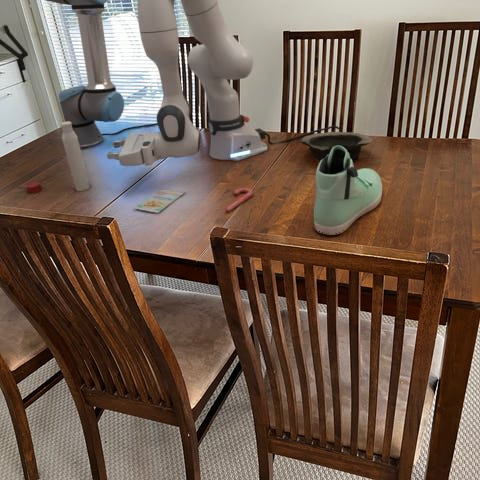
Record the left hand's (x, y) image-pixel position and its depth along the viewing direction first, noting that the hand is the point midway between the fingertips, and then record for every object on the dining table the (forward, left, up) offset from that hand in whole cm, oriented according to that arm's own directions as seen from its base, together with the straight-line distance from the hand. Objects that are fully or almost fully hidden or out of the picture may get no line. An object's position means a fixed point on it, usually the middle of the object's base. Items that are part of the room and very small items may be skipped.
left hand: (0, 85), depth 147 cm
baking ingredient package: (-27, +40, -36) cm, 60 cm away
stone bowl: (-90, +56, -36) cm, 112 cm away
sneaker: (-64, +85, -36) cm, 112 cm away
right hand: (-23, +18, -23) cm, 37 cm away
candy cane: (-44, +58, -36) cm, 81 cm away
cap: (0, 0, -34) cm, 34 cm away
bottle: (-13, +11, -36) cm, 40 cm away
